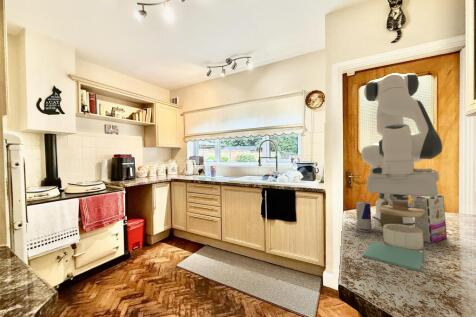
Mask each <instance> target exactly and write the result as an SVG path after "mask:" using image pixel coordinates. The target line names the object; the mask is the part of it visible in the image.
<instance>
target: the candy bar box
mask: <svg viewBox="0 0 476 317" xmlns="http://www.w3.org/2000/svg"><path fill="white" fill-rule="evenodd" d="M413 207H416V208H420V209H423V210H424V211H425V216H423V217H415V223H414V225H415V226H414V227H416V228H419V229H421V230H423V241H424V243H427V244H434V243H435V244H436V243H437V242H440V241H442V240H445V239H447V238H448V236H447V235H448V233H447V224H446V211H445V209H446V208H445V200H444V194H439V193H438V195H437V196H436V197H429V196H417V198H416V200H415V201H414V203H413Z"/></svg>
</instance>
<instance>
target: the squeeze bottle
mask: <svg viewBox="0 0 476 317" xmlns="http://www.w3.org/2000/svg"><path fill="white" fill-rule="evenodd" d="M389 198H390V199H391V201H393V200H394V199H397V198H396V197H394V196H393V194H390V196H389ZM384 201H385V202H382V203H381V206H383V205H388V201H387V199H386V198H385V197H384ZM379 222H380V225H381V227H382V229H383V226H384V225H386V224H401V225H405V224H404V223H403V218H402V217H398V216H392V215H387V214H384V213H381V215H380V220H379Z"/></svg>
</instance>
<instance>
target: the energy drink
mask: <svg viewBox="0 0 476 317" xmlns="http://www.w3.org/2000/svg"><path fill="white" fill-rule="evenodd" d="M355 207H356V208H355V211H356V227H357V231H359V232H362V233H371V232H372V231H373V230H372V229H373V228H372V226H373V225H372V211H371V208H372V206H371V203H370V202H368V201H356V203H355Z"/></svg>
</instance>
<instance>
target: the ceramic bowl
mask: <svg viewBox="0 0 476 317" xmlns="http://www.w3.org/2000/svg"><path fill="white" fill-rule="evenodd" d="M382 234H383V235H382V236H383V242H384V244H385V245H390V246H395V247H400V248H404V249H409V250H414V251H422V250H423V249H424V243H425V242H424V241H423V230H421V229H419V228H416V227H415V226H412V225H407V224H404V225H401V224H386V225H384V226H383V228H382Z"/></svg>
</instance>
